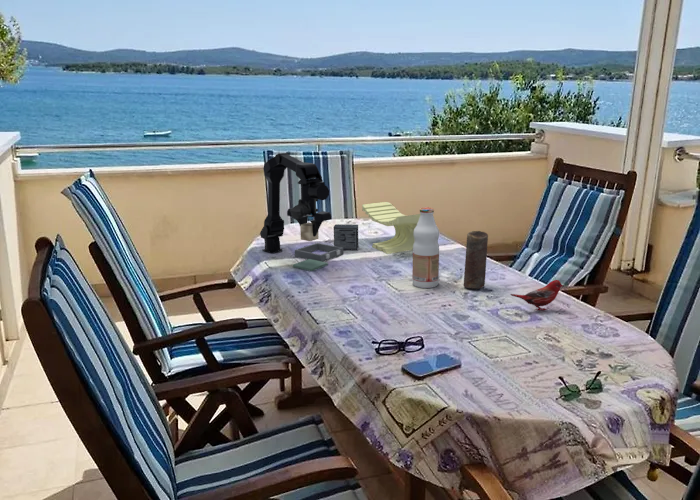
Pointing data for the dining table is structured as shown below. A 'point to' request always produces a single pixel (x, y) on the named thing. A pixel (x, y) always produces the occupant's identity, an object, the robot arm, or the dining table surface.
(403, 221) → the slatted curved stool
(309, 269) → the mat
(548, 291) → the decorative bird figurine
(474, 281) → the candle
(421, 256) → the fruit juice
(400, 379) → the dining table surface
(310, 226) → the block
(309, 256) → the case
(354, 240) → the small box
